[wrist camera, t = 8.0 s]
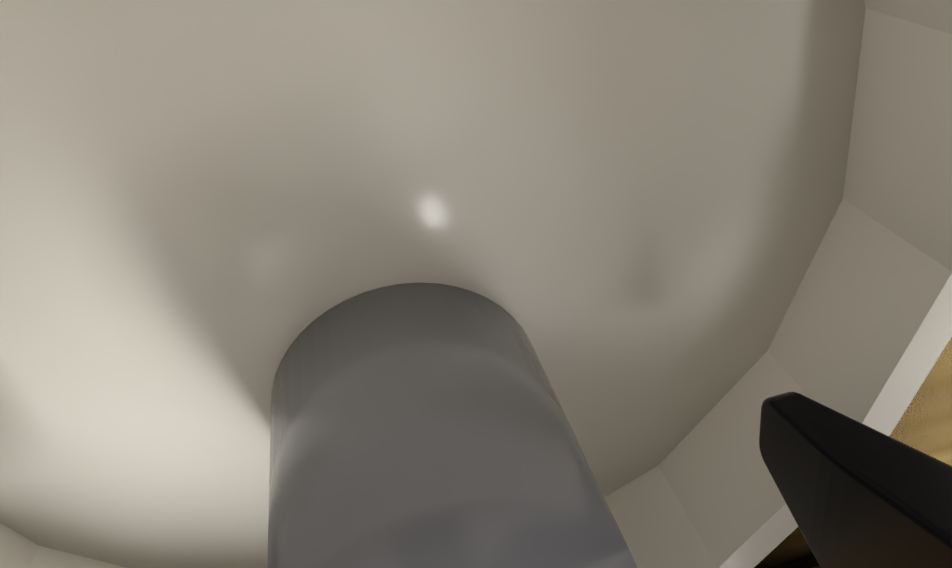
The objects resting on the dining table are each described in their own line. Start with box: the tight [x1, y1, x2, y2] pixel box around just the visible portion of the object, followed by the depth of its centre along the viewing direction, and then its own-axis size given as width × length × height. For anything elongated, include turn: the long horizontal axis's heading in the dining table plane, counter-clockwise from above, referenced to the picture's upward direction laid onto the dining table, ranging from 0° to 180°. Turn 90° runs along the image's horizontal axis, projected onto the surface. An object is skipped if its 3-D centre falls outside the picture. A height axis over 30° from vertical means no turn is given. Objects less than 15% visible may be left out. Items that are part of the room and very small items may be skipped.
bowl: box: [0, 0, 952, 568], centre depth 9 cm, size 15×15×3 cm
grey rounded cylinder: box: [267, 283, 637, 568], centre depth 10 cm, size 4×4×4 cm
